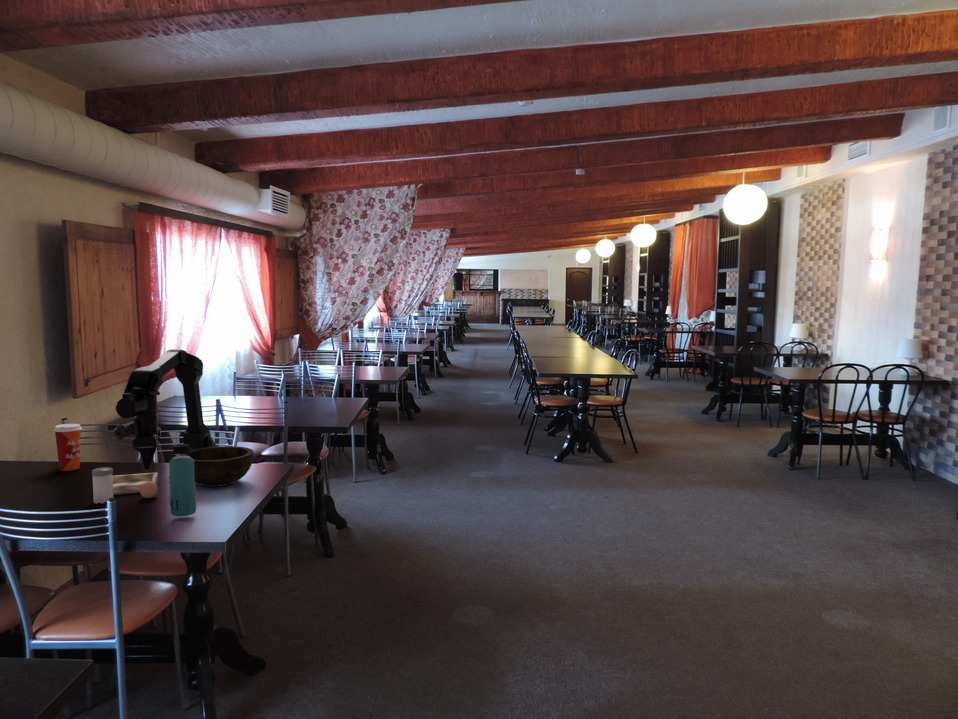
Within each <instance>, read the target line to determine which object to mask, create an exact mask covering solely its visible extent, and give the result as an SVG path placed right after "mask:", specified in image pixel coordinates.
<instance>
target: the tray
mask: <svg viewBox="0 0 958 719" xmlns="http://www.w3.org/2000/svg"><path fill="white" fill-rule="evenodd" d="M158 474H159V473H158V472H145V473H133V474H120V475H119V474H117V475H112V477H113V496H115V495H116V496H117V495H126V494H127V495H128V494H138V493H140V487H141V486H142V484H144V483H145V482H154V483H155V484H156V485H157V484H158V481H159V475H158ZM157 486H158V485H157Z"/></svg>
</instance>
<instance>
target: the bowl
mask: <svg viewBox="0 0 958 719" xmlns="http://www.w3.org/2000/svg"><path fill="white" fill-rule="evenodd" d="M254 453H255V452H254V450H253V449H252V448H249V447H245V446H237V445H236V446H231V445H223V446H219V445H218V446H217V447H207V448H200V449H194V450H190V452H189V453H186V454H179V456H190V457H191V458H192V459H193V460H194V476H195V484H197V485H201V486H203V487H223V486H229V485H231V484H234V483H236V482H237V481H239V480H241V479H242V478H243V477H244V476H246V475H247V473H248V472H249V471H250V469H251V466H252V464H253V461H254V455H255V454H254Z"/></svg>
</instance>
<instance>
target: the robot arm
mask: <svg viewBox="0 0 958 719" xmlns="http://www.w3.org/2000/svg"><path fill="white" fill-rule="evenodd" d="M203 369H204V363H203V361H202V359H200V358H199V357H197V356H196V355H193V354H191V353H189V352H187V351H186V350H184V349H182V348H181V349H180V348H178V349H177V348H176V349H175V348H172V349H168V350H166V352H165V353H164V354H163V355H162V356H160V357H159V358H158V359H156V360H155V361H154V362H152V363H151V364H150V365H147V366H145V365H144V366H141V367H138V368H135V369H133V371H131V373H130V375H129V377H128V380H127V382H126V385H125V388H124V391H123V393H122V396H121V397H122V398H120V399H119V400H118V401H117V403H116V405H115V411H116V413H117V415H118V416H119V417H120V418H122V419H130V418H133V417H134V418H133V421H130V422H127V423H122V424H120V425H117V426H116V427H115V428H114V429H113V430H112V431H113V433H114V436H115V437H116V440H117V441H121V440H123V439H124V438H127V437H129V436H131V435H133V436H134V438H133V439H132V448H133V450H134V451H137V452H138V453H139V454H140V458H141V461H142V464H143V468H144V470H149V469H150V467H151V464H152V462H153V459H154V456H155V453H156V451H157V448H158V445H159V442H160V440H161V435H162V430H161V429H162V428H161V427H160V426H159V424H158V422H159V421H158V419H159V414H158V399H157V398H158V396H160V395H161V392H160V391H159V390H158V388H159V386H161V385H162V383H163V377H164V376H166V374H169V372H171V371H172V370H173V371H174V373H175V378H176V379H177V380H178V382H180V384H181V385H182V390H183V391H182V392H183V398H184V404H185V412H186V413H185V414H186V422H187V428H186V430H185V431H184V432H183V433H182V439H183V441H182V442H183V443H182V444H188V445H189V450H194V449H200V448H207V447H218V446H217V444H216V442H215V441H214V439H213V438H212V436H211V431H210V429H209V428H208V427H207V425H206V424H205V423H204V416H203V408H202V407H203V406H202V400H201V393H200V392H201V391H200V384H199V383H200V380H201V379H202V376H203V375H204V374H203V373H204V370H203Z"/></svg>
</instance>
